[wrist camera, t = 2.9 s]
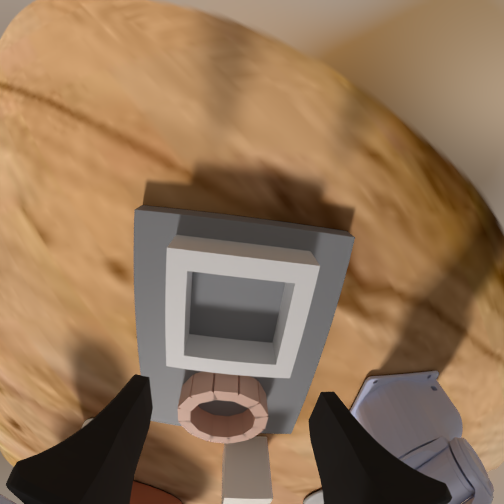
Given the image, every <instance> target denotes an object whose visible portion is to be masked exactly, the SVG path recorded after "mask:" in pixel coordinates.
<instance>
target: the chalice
mask: <svg viewBox="0 0 504 504" xmlns="http://www.w3.org/2000/svg"><path fill="white" fill-rule="evenodd" d="M303 504H324V500H323V491H322V490H320V491H317V492H315V493H313V494H311V495H309V496H308V497H307V498H305V499H304V501H303Z"/></svg>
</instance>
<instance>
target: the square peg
mask: <svg viewBox="0 0 504 504" xmlns="http://www.w3.org/2000/svg"><path fill="white" fill-rule="evenodd" d="M272 499H273V494H272V483H271V473H270V463H269V452H268V442H267V437H262V436H255V437H253V438H252V439H250V438H249V440H245V441H241V442H236V443H230V442H229V444H228V443H224V449H223V464H222V504H270V503H271V501H272Z"/></svg>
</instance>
